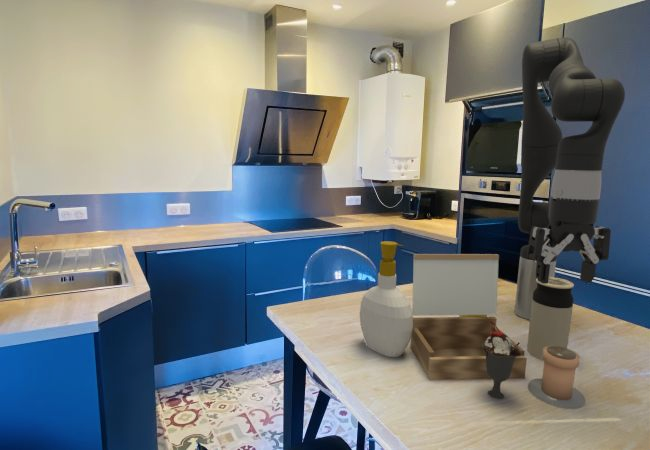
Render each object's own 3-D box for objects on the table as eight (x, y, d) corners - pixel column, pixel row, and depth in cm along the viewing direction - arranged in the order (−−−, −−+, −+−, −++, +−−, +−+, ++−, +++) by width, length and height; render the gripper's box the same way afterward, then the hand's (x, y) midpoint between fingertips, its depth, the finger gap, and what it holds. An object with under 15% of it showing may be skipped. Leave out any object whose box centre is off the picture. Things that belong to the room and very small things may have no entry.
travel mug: (551, 367, 87) (561, 289, 84) (519, 351, 94) (527, 278, 91) (573, 359, 91) (583, 284, 88) (540, 345, 98) (549, 274, 95)
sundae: (470, 387, 79) (477, 316, 77) (503, 387, 80) (510, 315, 77) (486, 408, 73) (494, 331, 70) (522, 407, 73) (530, 330, 71)
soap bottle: (421, 355, 92) (428, 245, 87) (396, 368, 86) (402, 250, 81) (375, 334, 102) (379, 234, 98) (350, 344, 97) (353, 238, 92)
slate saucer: (562, 381, 82) (563, 377, 82) (597, 410, 73) (597, 406, 72) (517, 382, 81) (518, 378, 81) (546, 412, 72) (547, 408, 72)
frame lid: (496, 314, 94) (495, 313, 94) (498, 254, 93) (497, 254, 94) (413, 315, 92) (412, 314, 93) (414, 254, 91) (413, 254, 92)
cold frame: (491, 348, 96) (494, 316, 95) (524, 380, 82) (528, 344, 81) (410, 349, 94) (411, 317, 93) (429, 382, 81) (431, 345, 79)
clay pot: (561, 382, 80) (565, 344, 79) (582, 400, 74) (587, 359, 73) (532, 383, 80) (536, 344, 78) (551, 401, 74) (556, 360, 72)
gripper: (596, 193, 76) (585, 275, 79) (524, 193, 75) (516, 276, 78) (629, 198, 69) (615, 288, 71) (550, 197, 67) (539, 289, 70)
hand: (564, 281), depth 75 cm, fingers open, 8 cm apart
